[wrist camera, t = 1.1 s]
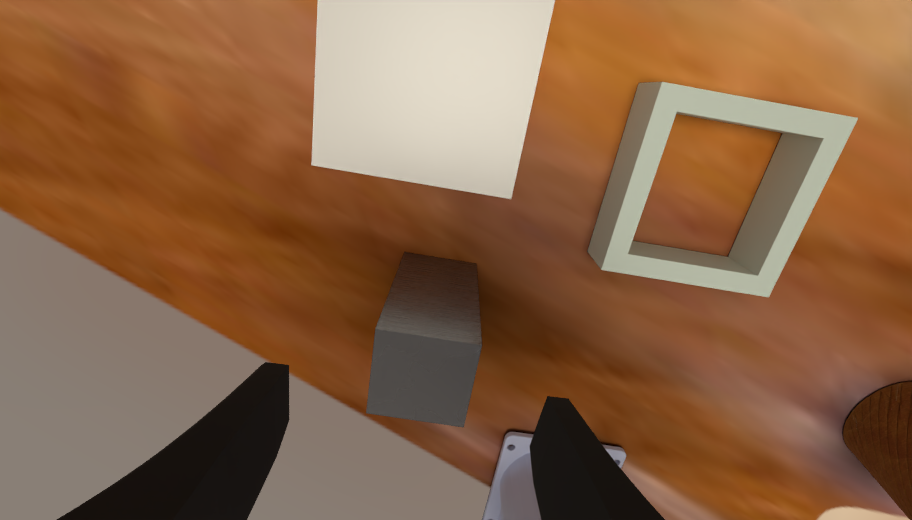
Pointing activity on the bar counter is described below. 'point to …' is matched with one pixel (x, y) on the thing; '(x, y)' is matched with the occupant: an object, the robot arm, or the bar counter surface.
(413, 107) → the pad
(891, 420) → the disposable coffee cup
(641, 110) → the frame
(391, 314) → the pin block
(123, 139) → the bar counter surface
